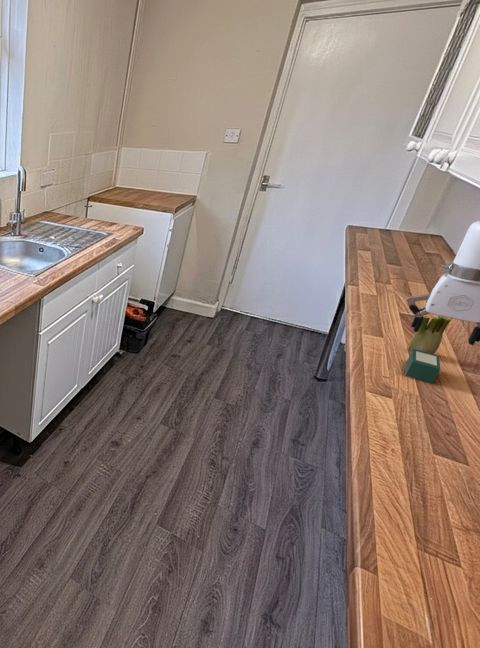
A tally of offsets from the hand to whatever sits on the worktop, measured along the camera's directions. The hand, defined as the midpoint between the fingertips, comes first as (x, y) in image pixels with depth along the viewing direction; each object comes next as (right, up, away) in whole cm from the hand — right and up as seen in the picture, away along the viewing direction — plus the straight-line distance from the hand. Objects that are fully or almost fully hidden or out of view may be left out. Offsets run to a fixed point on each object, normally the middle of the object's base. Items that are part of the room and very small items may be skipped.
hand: (442, 336), depth 105 cm
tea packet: (0, -10, +5) cm, 12 cm away
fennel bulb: (+10, -7, +14) cm, 18 cm away
